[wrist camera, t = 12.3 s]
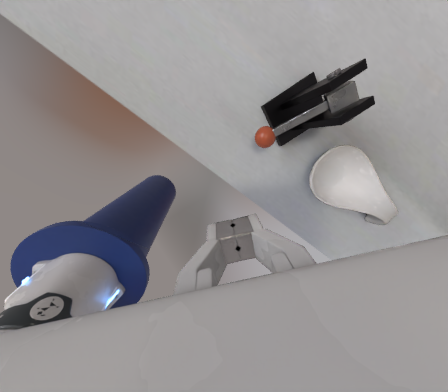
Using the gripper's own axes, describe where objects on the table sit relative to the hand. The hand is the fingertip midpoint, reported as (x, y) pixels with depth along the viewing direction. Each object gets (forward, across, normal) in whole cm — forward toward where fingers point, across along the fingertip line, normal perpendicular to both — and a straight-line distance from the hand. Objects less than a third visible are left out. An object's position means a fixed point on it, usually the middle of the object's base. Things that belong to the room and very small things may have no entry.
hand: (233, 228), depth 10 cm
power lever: (+17, -13, -4) cm, 22 cm away
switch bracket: (+25, -16, -4) cm, 30 cm away
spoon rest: (+24, -26, +14) cm, 38 cm away
